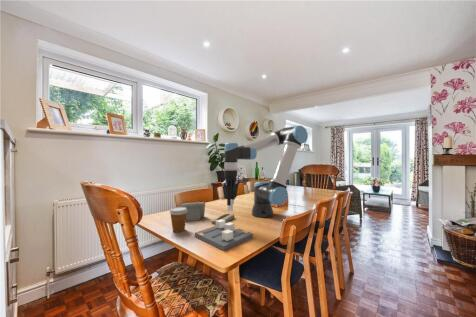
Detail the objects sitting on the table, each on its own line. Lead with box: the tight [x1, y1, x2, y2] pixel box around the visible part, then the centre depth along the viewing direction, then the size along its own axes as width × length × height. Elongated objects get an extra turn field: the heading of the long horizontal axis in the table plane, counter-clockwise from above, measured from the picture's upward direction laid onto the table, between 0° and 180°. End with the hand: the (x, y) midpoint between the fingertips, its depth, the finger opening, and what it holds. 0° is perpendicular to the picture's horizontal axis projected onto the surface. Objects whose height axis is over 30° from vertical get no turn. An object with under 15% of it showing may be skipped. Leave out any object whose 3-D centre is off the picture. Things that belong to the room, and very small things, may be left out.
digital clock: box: [179, 201, 206, 222], centre depth 133 cm, size 16×9×11 cm, turn 98°
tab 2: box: [224, 221, 235, 231], centre depth 106 cm, size 4×4×4 cm
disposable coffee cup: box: [169, 206, 187, 233], centre depth 113 cm, size 10×10×12 cm
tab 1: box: [215, 219, 226, 229], centre depth 111 cm, size 4×4×4 cm
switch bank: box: [194, 225, 254, 251], centre depth 104 cm, size 20×22×2 cm
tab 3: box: [222, 230, 233, 241], centre depth 96 cm, size 4×4×4 cm
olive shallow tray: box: [211, 213, 235, 225], centre depth 129 cm, size 16×8×3 cm, turn 155°
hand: (230, 210), depth 117 cm, fingers closed
